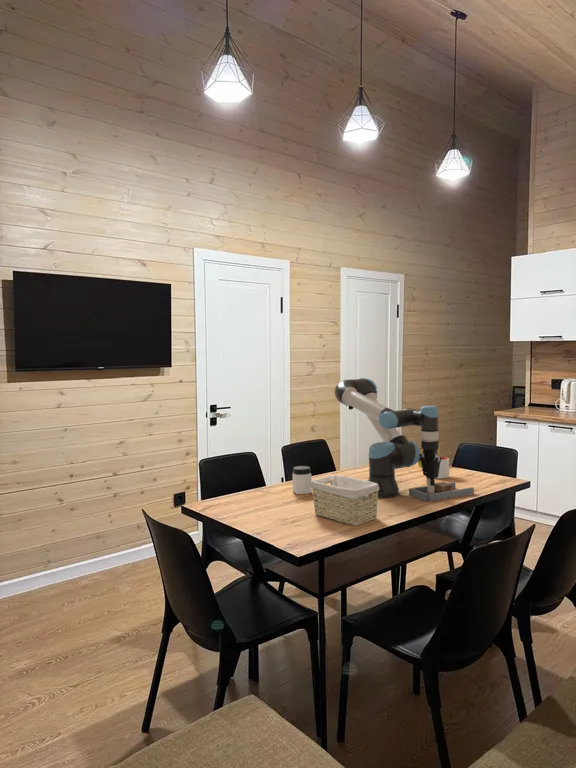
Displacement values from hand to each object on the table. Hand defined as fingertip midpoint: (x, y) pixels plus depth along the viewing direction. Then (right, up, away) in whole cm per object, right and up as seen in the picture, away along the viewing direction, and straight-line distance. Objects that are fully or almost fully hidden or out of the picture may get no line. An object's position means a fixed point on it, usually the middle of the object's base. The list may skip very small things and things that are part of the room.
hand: (430, 492), depth 256 cm
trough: (+6, -2, +3) cm, 7 cm away
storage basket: (-41, -5, -28) cm, 50 cm away
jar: (-58, -3, +13) cm, 59 cm away
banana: (+14, +2, +62) cm, 64 cm away
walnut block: (+7, -2, +3) cm, 8 cm away
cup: (+14, 0, +38) cm, 40 cm away
